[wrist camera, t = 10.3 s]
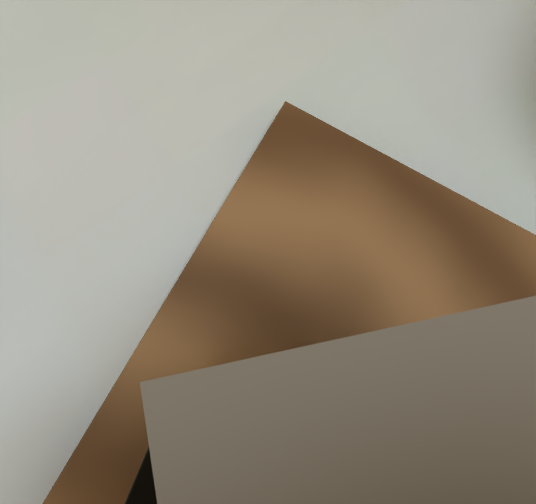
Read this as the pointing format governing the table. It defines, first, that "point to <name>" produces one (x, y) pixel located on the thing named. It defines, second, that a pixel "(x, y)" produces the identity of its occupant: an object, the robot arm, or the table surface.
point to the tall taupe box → (358, 418)
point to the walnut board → (304, 276)
